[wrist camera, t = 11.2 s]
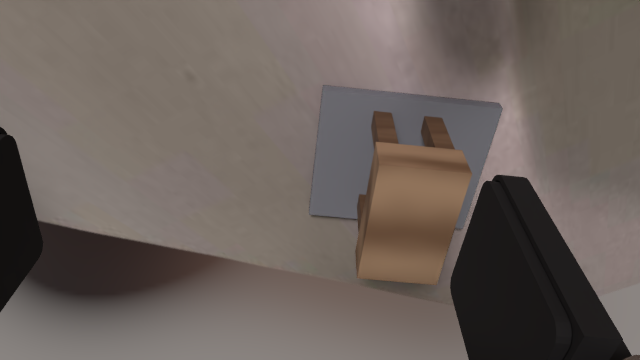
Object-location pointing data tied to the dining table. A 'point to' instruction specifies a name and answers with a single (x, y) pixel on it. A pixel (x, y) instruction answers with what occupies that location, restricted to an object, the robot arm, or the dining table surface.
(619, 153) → the dining table surface
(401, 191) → the footstool
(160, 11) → the dining table surface
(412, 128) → the mat
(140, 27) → the dining table surface
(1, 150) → the robot arm
